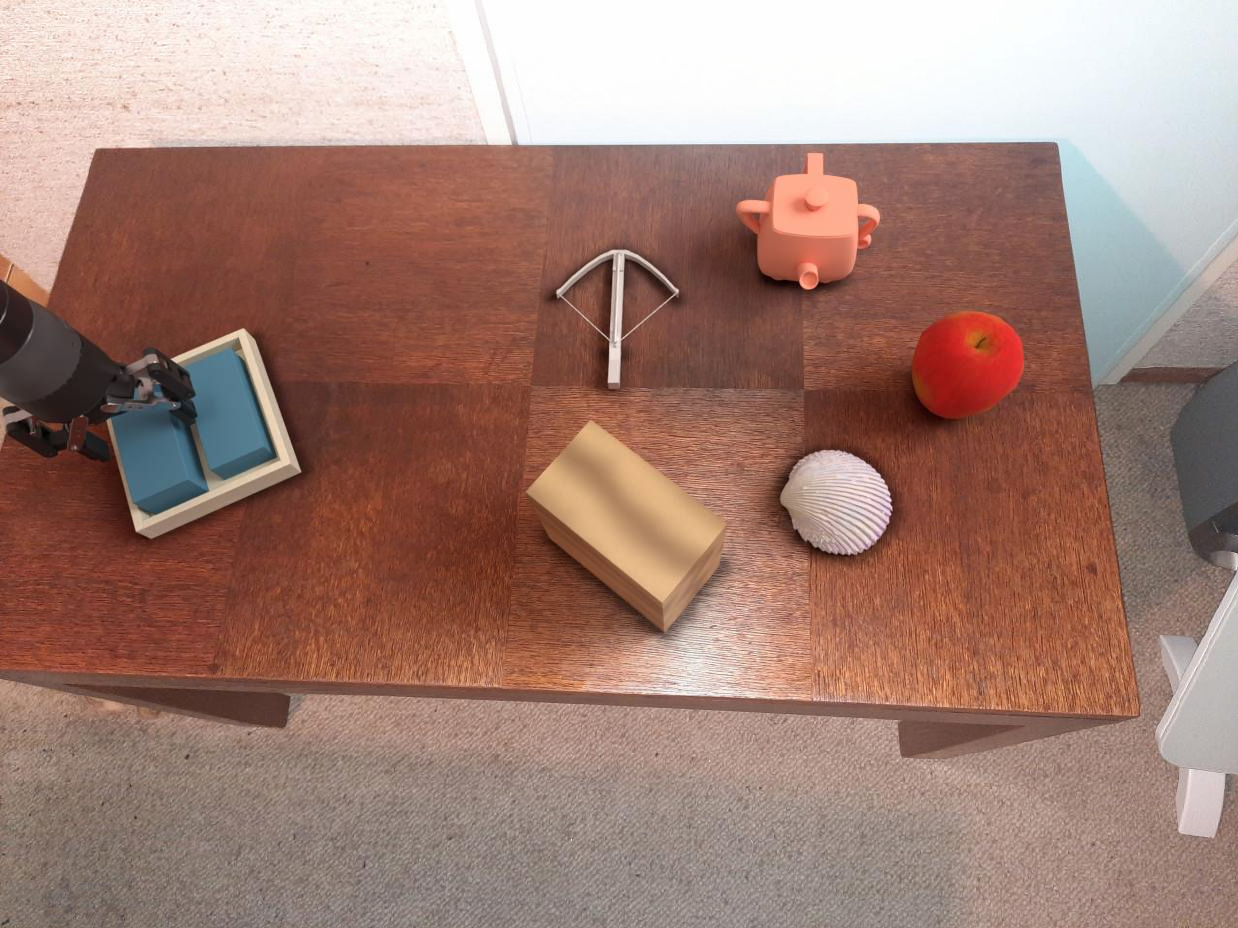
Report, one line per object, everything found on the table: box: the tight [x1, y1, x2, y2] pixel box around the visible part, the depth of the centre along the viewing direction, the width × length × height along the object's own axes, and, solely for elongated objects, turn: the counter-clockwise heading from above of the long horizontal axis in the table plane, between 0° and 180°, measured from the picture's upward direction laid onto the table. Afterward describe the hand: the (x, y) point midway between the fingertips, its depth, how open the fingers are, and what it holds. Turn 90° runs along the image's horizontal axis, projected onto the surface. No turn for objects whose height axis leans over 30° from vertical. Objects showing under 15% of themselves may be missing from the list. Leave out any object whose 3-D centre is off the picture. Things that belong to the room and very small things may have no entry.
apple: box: [911, 310, 1025, 420], centre depth 78 cm, size 9×9×12 cm
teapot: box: [735, 152, 881, 290], centre depth 85 cm, size 12×12×10 cm
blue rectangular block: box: [111, 388, 209, 515], centre depth 84 cm, size 6×12×4 cm, turn 25°
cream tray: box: [105, 327, 302, 540], centre depth 86 cm, size 16×17×3 cm
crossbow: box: [556, 249, 680, 390], centre depth 88 cm, size 16×13×2 cm
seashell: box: [779, 449, 893, 556], centre depth 79 cm, size 10×6×10 cm
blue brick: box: [183, 348, 277, 480], centre depth 85 cm, size 6×12×3 cm, turn 25°
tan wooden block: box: [525, 419, 728, 633], centre depth 73 cm, size 8×14×14 cm, turn 50°
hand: (149, 434), depth 83 cm, fingers open, 8 cm apart
